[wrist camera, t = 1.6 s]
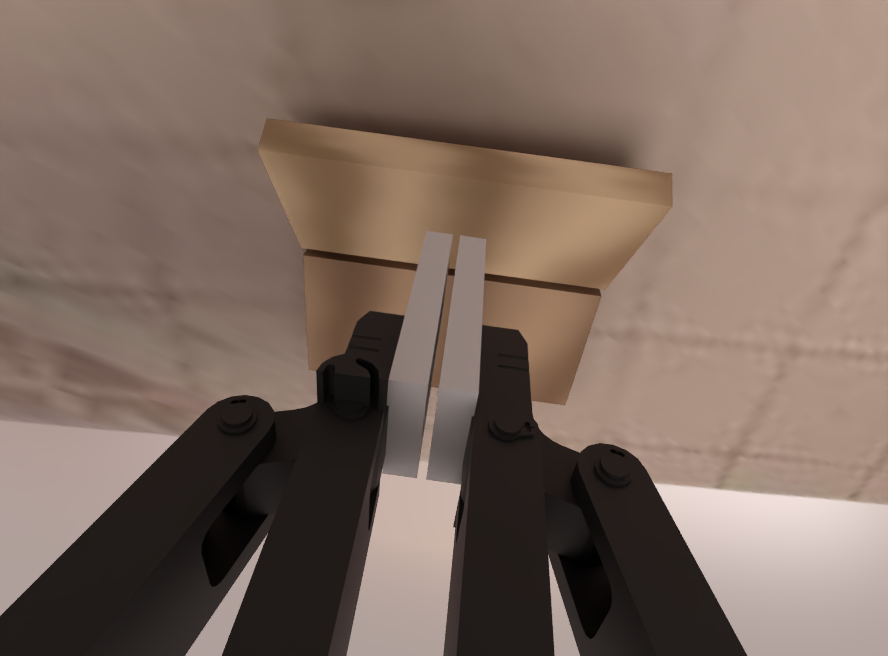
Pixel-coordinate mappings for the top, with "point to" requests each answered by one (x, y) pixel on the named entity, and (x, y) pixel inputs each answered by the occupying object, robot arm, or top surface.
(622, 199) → the plank
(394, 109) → the top surface
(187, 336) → the top surface
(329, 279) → the laid board
